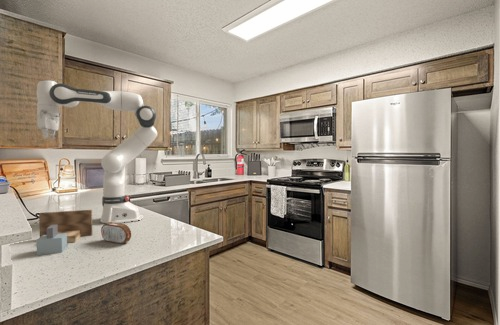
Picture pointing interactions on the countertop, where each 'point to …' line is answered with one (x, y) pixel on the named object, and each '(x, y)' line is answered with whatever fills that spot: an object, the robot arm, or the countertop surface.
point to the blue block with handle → (52, 241)
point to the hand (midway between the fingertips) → (48, 138)
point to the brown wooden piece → (67, 223)
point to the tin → (116, 232)
